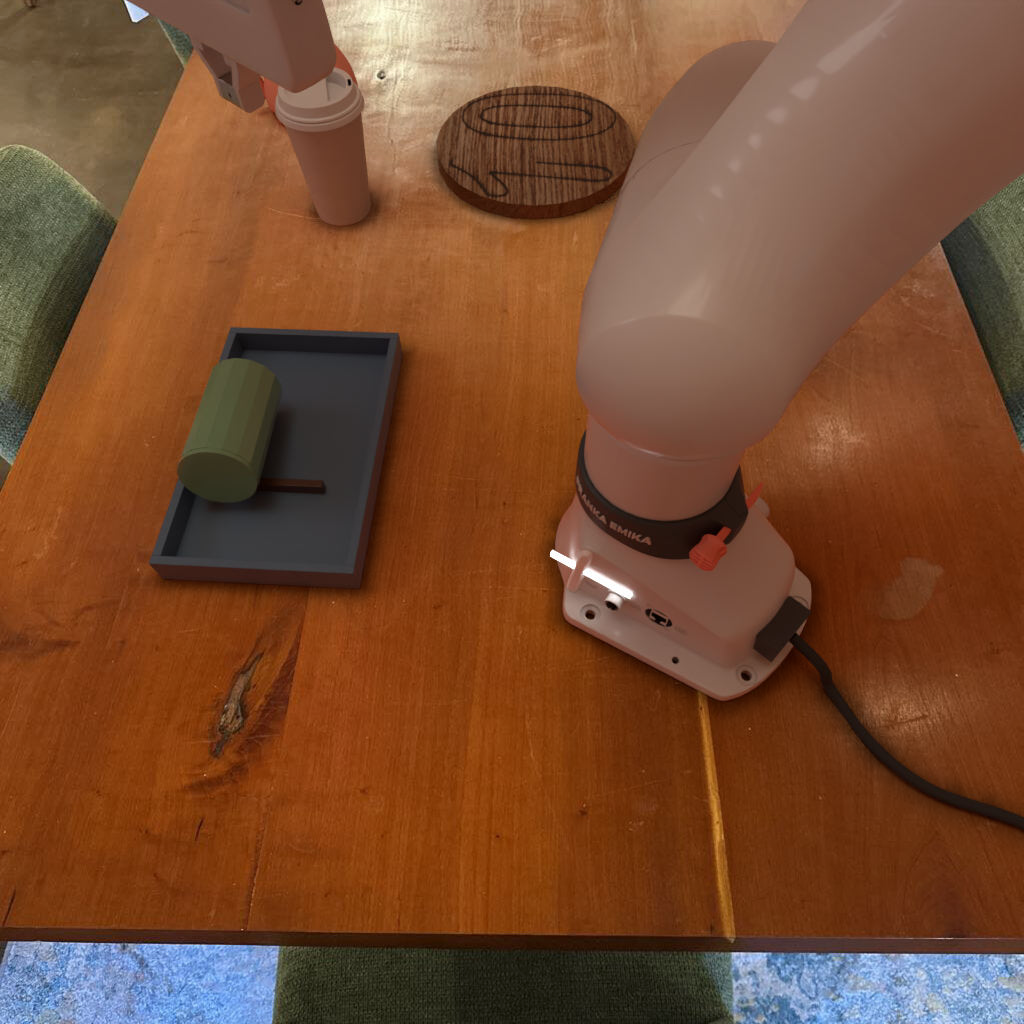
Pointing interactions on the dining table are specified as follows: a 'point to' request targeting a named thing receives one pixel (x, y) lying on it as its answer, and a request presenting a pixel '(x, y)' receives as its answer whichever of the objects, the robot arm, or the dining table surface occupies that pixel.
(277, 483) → the bar
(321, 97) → the coffee cup
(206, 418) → the green cup
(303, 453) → the tray
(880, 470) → the dining table surface
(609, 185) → the trivet
